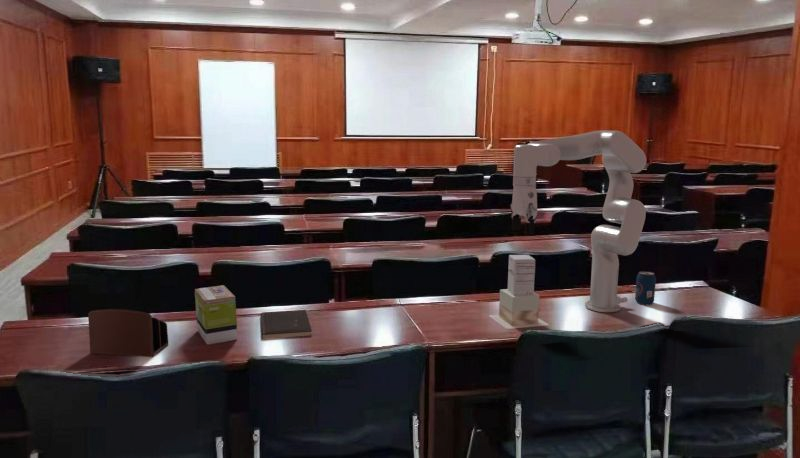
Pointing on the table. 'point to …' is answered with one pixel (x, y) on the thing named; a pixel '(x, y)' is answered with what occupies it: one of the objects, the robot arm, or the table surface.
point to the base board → (508, 326)
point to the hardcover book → (285, 324)
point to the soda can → (645, 287)
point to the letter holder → (126, 333)
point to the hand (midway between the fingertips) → (522, 231)
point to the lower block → (518, 316)
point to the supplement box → (521, 274)
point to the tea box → (216, 314)
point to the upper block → (519, 301)
